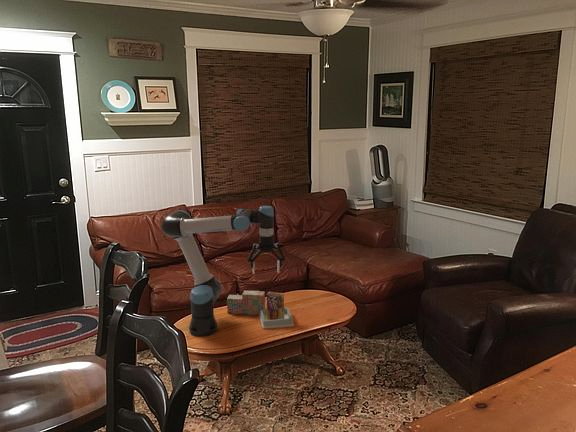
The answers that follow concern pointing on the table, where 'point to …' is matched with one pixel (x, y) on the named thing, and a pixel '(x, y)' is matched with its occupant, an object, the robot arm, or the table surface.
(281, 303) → the candy box
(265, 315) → the open storage bin
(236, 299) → the stack of blocks
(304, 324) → the table surface
